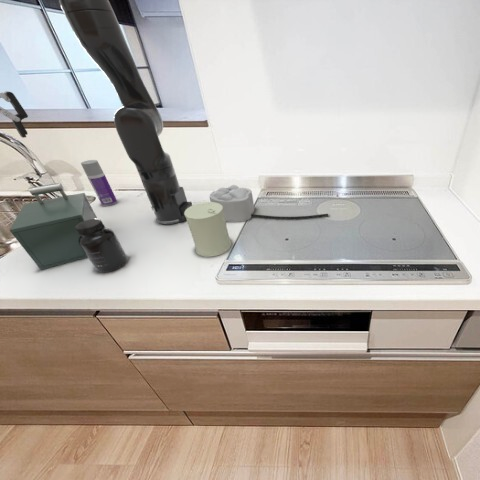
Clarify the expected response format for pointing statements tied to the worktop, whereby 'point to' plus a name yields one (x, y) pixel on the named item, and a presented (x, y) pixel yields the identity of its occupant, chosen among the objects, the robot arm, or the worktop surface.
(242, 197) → the lumpy-topped squat cylinder
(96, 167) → the container
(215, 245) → the can
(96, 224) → the supplement bottle
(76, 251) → the trash bin
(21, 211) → the bin lid
